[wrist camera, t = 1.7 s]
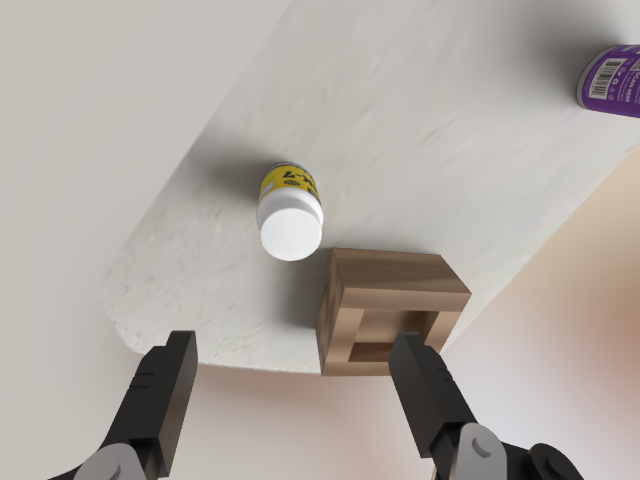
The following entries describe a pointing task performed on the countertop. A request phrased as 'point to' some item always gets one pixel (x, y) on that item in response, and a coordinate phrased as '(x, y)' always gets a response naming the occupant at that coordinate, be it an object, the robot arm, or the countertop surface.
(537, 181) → the countertop surface
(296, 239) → the supplement bottle
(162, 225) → the countertop surface
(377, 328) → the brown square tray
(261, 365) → the countertop surface
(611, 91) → the container
